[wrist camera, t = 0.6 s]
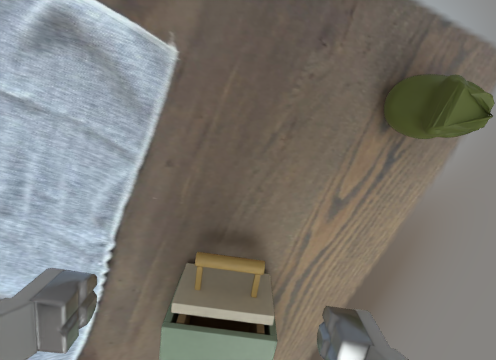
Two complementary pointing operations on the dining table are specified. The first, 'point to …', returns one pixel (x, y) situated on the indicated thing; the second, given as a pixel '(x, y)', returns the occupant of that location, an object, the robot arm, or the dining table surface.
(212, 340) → the cabinet
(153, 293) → the dining table surface
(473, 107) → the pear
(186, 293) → the drawer
